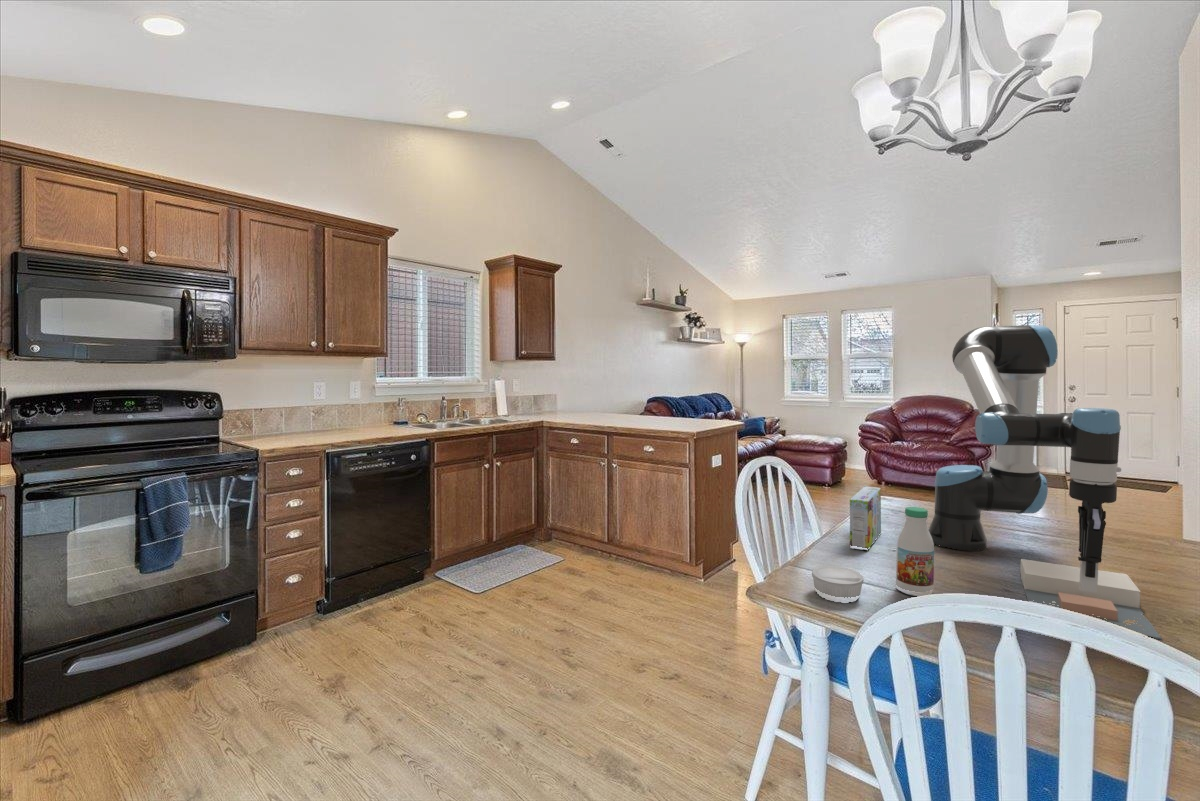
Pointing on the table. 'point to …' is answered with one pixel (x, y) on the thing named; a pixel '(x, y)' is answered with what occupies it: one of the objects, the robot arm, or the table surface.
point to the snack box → (865, 517)
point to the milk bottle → (915, 553)
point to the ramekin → (837, 581)
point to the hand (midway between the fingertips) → (1088, 590)
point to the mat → (1122, 615)
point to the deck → (1068, 579)
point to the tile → (1087, 605)
